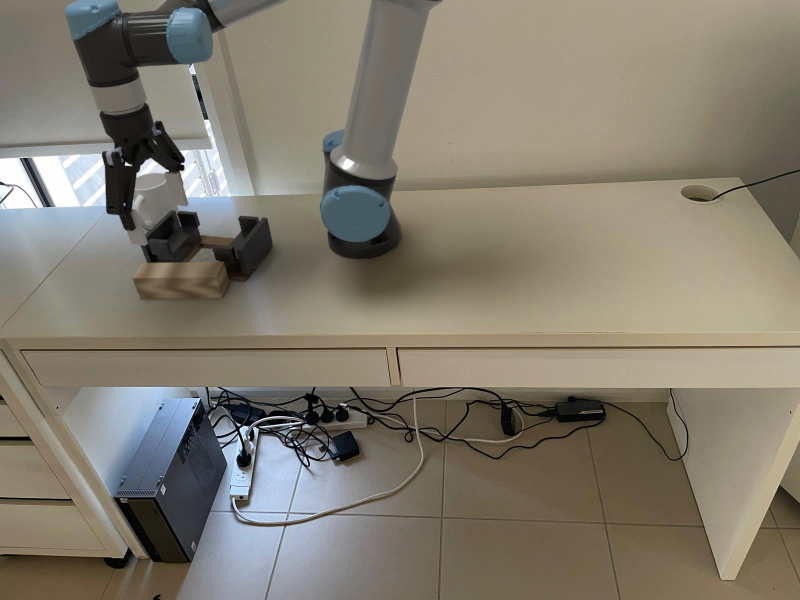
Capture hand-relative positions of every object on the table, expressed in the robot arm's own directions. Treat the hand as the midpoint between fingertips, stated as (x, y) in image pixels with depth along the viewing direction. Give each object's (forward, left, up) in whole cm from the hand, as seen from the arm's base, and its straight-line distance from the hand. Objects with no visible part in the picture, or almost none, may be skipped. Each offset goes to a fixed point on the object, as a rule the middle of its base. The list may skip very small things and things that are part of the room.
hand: (161, 223), depth 113 cm
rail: (0, 0, -15) cm, 15 cm away
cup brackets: (0, -11, -15) cm, 18 cm away
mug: (+19, -21, -15) cm, 32 cm away
